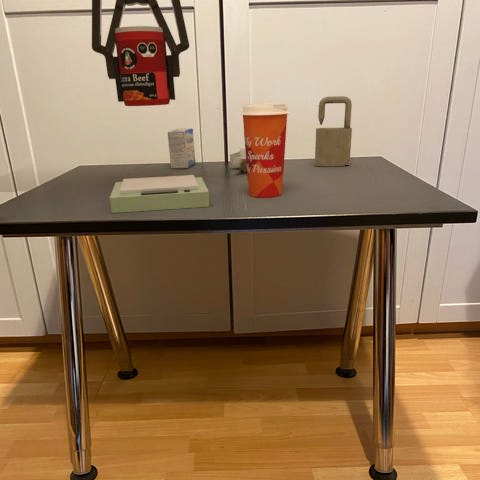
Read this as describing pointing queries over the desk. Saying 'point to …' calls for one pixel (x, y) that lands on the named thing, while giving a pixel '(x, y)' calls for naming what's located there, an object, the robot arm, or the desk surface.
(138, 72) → the canned food
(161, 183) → the scale
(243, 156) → the bunny figurine
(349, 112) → the padlock
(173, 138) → the medicine box
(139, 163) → the desk surface
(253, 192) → the coffee cup
